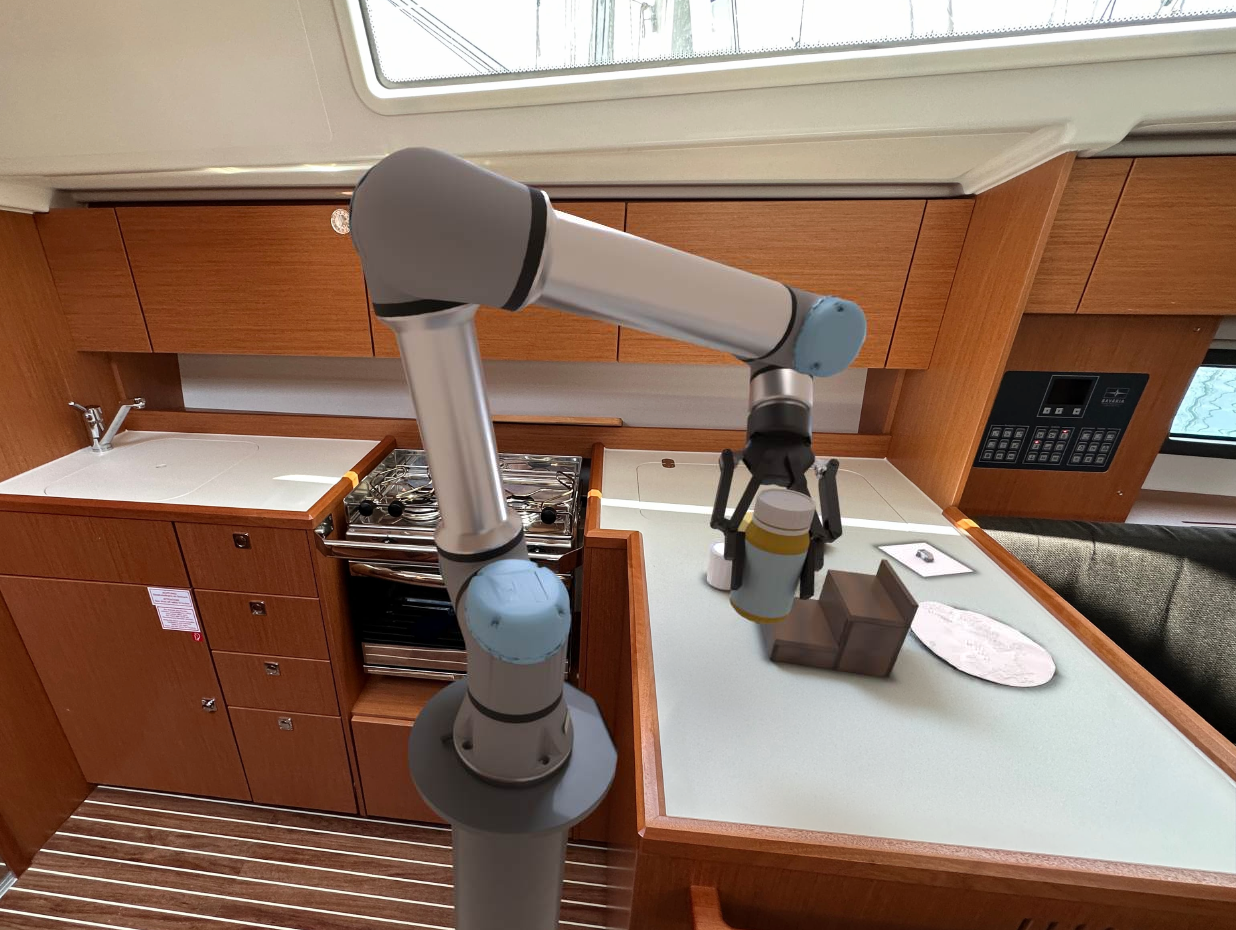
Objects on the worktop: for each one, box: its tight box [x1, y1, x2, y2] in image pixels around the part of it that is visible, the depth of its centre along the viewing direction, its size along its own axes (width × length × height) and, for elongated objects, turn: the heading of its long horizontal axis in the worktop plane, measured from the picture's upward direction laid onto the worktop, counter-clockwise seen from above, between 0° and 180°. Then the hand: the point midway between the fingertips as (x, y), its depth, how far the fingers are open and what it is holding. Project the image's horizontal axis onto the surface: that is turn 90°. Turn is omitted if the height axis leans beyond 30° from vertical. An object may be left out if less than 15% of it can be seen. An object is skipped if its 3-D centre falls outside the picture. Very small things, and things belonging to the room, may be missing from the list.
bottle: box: [729, 487, 817, 624], centre depth 69 cm, size 7×7×15 cm
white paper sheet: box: [878, 542, 974, 578], centre depth 119 cm, size 12×12×2 cm
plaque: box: [910, 601, 1056, 688], centre depth 95 cm, size 20×20×2 cm
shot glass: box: [706, 540, 732, 591], centre depth 107 cm, size 7×7×7 cm
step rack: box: [759, 558, 919, 679], centre depth 91 cm, size 17×13×13 cm
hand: (771, 592), depth 67 cm, fingers closed on bottle, 7 cm apart
